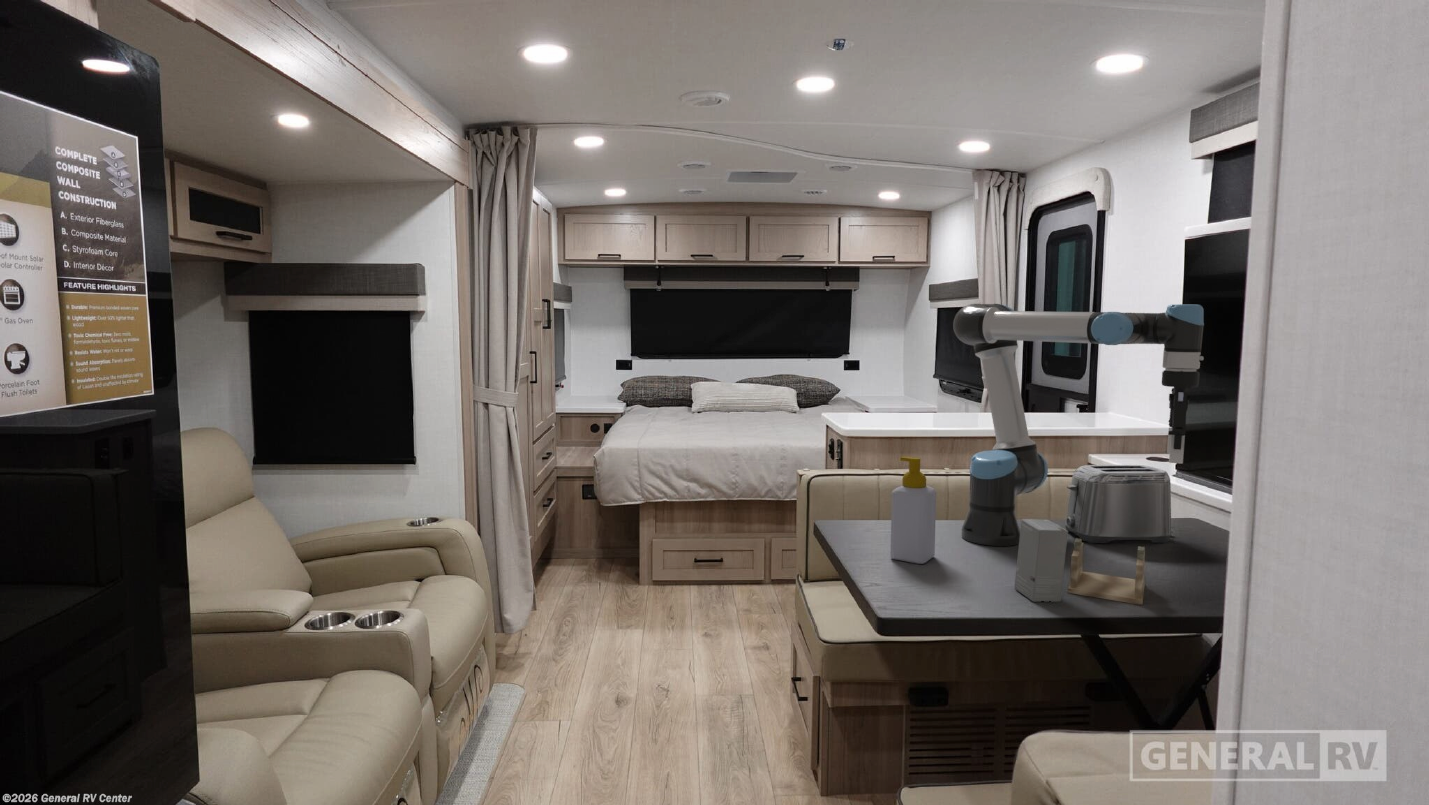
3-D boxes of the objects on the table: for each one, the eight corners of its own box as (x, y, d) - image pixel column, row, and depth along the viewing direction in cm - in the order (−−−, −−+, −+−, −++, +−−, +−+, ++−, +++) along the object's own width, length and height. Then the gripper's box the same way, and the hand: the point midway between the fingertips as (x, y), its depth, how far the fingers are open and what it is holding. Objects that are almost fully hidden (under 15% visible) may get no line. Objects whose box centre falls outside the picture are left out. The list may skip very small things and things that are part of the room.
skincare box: (1013, 589, 164) (1016, 518, 163) (1044, 588, 165) (1047, 517, 163) (1033, 603, 156) (1036, 528, 154) (1066, 602, 157) (1069, 527, 155)
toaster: (1053, 528, 214) (1056, 462, 212) (1159, 529, 213) (1162, 463, 211) (1080, 545, 197) (1083, 474, 195) (1194, 546, 196) (1199, 474, 194)
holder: (1067, 592, 162) (1069, 547, 161) (1075, 574, 174) (1077, 532, 173) (1142, 605, 155) (1144, 557, 154) (1144, 585, 167) (1147, 541, 166)
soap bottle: (901, 550, 193) (904, 454, 191) (936, 556, 188) (939, 457, 185) (888, 559, 186) (890, 459, 183) (923, 566, 181) (926, 462, 178)
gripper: (1203, 373, 165) (1196, 468, 168) (1196, 367, 187) (1189, 452, 189) (1164, 372, 169) (1157, 465, 171) (1161, 366, 191) (1155, 449, 193)
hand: (1174, 458), depth 180 cm, fingers open, 13 cm apart
